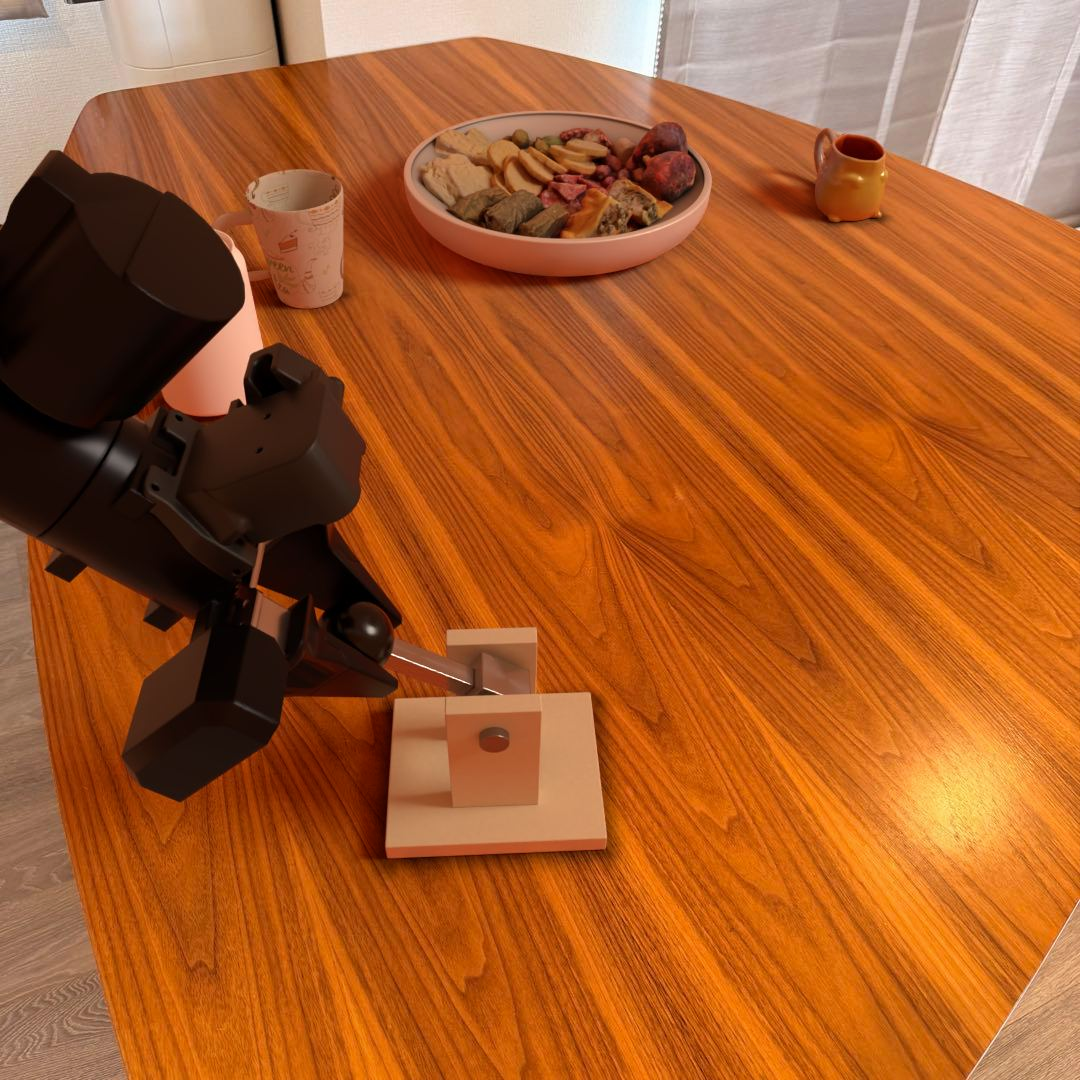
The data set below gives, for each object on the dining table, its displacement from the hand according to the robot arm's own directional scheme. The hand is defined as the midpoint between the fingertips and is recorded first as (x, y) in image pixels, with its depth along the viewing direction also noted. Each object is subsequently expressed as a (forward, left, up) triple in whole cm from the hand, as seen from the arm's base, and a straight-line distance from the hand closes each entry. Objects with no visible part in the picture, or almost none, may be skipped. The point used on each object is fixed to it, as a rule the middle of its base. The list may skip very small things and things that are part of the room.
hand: (394, 656), depth 45 cm
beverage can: (+3, +39, -11) cm, 41 cm away
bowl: (+42, +51, -11) cm, 67 cm away
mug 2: (+70, +40, -11) cm, 81 cm away
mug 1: (+13, +50, -11) cm, 53 cm away
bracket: (+4, -2, -10) cm, 11 cm away
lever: (0, 0, -2) cm, 2 cm away
